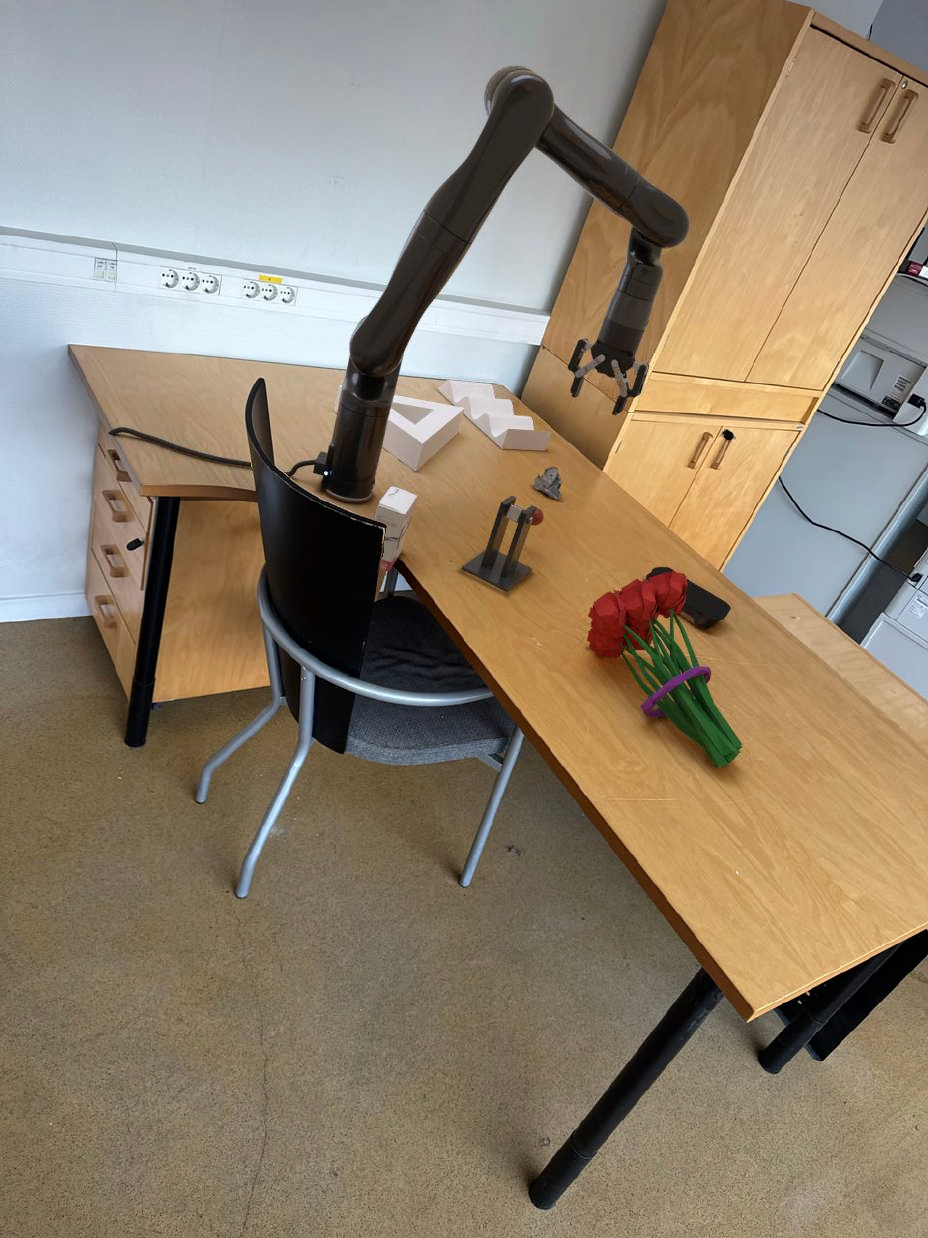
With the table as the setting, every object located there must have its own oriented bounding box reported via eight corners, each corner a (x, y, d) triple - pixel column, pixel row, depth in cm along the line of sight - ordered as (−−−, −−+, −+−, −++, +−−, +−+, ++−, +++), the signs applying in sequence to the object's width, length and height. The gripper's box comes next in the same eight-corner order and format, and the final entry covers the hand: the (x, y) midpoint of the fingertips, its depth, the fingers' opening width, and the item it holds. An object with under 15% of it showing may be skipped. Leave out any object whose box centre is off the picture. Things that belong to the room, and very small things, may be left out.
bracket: (487, 552, 156) (509, 485, 148) (530, 573, 153) (554, 506, 146) (460, 572, 147) (482, 502, 139) (505, 595, 144) (529, 525, 137)
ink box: (389, 576, 139) (405, 513, 133) (360, 566, 139) (375, 503, 133) (402, 553, 146) (418, 493, 140) (375, 544, 147) (390, 483, 140)
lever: (525, 521, 157) (532, 504, 156) (540, 529, 156) (548, 512, 156) (500, 518, 143) (509, 500, 142) (518, 527, 142) (526, 508, 141)
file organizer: (478, 393, 232) (483, 375, 229) (545, 450, 208) (552, 431, 206) (437, 389, 225) (442, 370, 222) (501, 448, 202) (508, 428, 199)
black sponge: (727, 623, 158) (735, 607, 156) (706, 635, 152) (714, 618, 150) (656, 579, 165) (663, 563, 163) (634, 588, 159) (641, 572, 157)
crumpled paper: (541, 483, 190) (550, 455, 186) (561, 500, 185) (571, 472, 181) (526, 483, 188) (535, 454, 184) (546, 501, 183) (556, 472, 179)
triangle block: (333, 410, 193) (338, 384, 189) (418, 406, 210) (424, 382, 207) (415, 471, 177) (422, 443, 174) (500, 461, 194) (508, 435, 191)
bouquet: (667, 810, 119) (551, 650, 133) (736, 780, 129) (622, 634, 143) (750, 729, 106) (613, 562, 120) (819, 702, 116) (685, 551, 130)
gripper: (583, 307, 149) (554, 394, 158) (656, 336, 145) (622, 424, 154) (597, 304, 155) (568, 388, 164) (668, 332, 151) (634, 416, 160)
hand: (594, 405), depth 159 cm, fingers open, 8 cm apart
